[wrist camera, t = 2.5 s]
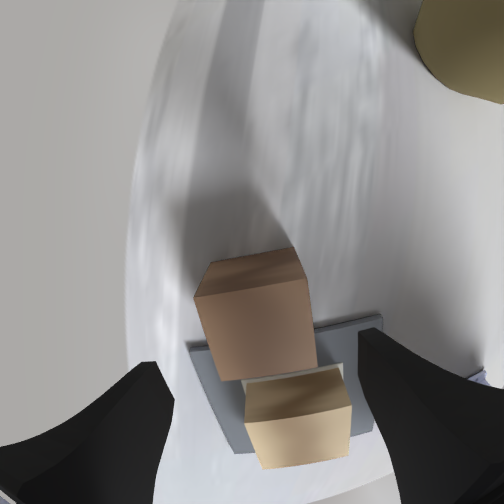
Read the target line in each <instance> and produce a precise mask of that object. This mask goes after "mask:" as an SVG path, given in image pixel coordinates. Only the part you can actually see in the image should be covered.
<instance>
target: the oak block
mask: <svg viewBox="0 0 504 504" xmlns="http://www.w3.org/2000/svg"><path fill="white" fill-rule="evenodd" d="M351 413H352V404H351V401H350V398H349V395H348V393H347V390H346V387H345V384H344V381H343V378H342V375H341V373H340V370H339V368H334V369H330V370H325V371H320V372H315V373H310V374H305V375H300V376H294V377H288V378H282V379H276V380H269V381H262V382H254V383H247V385H246V401H245V417H244V424H245V427H246V430H247V432H248V435H249V437H250V440H251V442H252V445H253V447H254V450H255V452H256V455H257V457H258V459H259V462H260V464H261V466H262V469H274V468H283V467H291V466H298V465H304V464H310V463H316V462H321V461H326V460H331V459H336V458H340V457H344V456H348V454H349V443H350V430H351Z"/></svg>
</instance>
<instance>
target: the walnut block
mask: <svg viewBox="0 0 504 504" xmlns="http://www.w3.org/2000/svg"><path fill="white" fill-rule="evenodd" d="M193 298H194V302H195V305H196V308H197V311H198V314H199V318H200V321H201V324H202V327H203V330H204V333H205V336H206V339H207V342H208V345H209V348H210V351H211V354H212V356H213V359H214V362H215V365H216V368H217V371H218V373H219V376H220V379H221V381H230V380H239V379H248V378H256V377H263V376H270V375H277V374H283V373H289V372H295V371H300V370H306V369H311V368H316V367H318V365H317V355H316V346H315V337H314V328H313V319H312V311H311V303H310V296H309V288H308V281H307V277H306V274H305V272H304V270H303V267H302V265H301V262H300V260H299V258H298V255H297V253H296V251H295V249H294V247H291V248H286V249H280V250H275V251H270V252H264V253H259V254H254V255H248V256H243V257H237V258H232V259H227V260H221V261H216V262H211V263H210V265H209V267H208V269H207V271H206V273H205V275H204V277H203V279H202V281H201V283H200V285H199V287H198V289H197V291H196V293H195V295H194V297H193Z"/></svg>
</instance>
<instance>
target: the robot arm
mask: <svg viewBox="0 0 504 504" xmlns="http://www.w3.org/2000/svg"><path fill="white" fill-rule="evenodd" d="M486 375H487V372H486V371H485V370H484V371H482V372H480V373H478V374H476V375H474V376H472V377H470V378H468V379H465V378H463V377H461V376H458V375H456V374H453V373H451V372H449V371H446V370H444V369H442V368H440V367H438V366H436V365H434V364H433V363H431V362H429V361H427V360H425V359H423V358H422V357H420V356H418V355H416V354H415V353H413V352H412V351H410V350H408V349H407V348H405V347H404V346H402V345H401V344H399V343H398V342H396V341H395V340H393V339H392V338H390V337H389V336H387V335H386V334H384V333H383V332H381V331H380V330H378V329H377V328H375V327H372V328H369V329H365V330H361V331H358V378H359V381H360V384H361V387H362V391H363V394H364V397H365V399H366V402H367V404H368V406H369V408H370V410H371V413H372V415H373V417H374V419H375V421H376V424H377V426H378V428H379V430H380V432H381V435H382V437H383V439H384V441H385V444H386V446H387V449H388V452H389V454H390V458H391V461H392V465H393V469H394V472H395V476H396V480H397V484H398V489H399V493H400V499H401V504H504V389H499V388H495V387H491V386H490V384H489V383H488V382H487V381H486V380H485V378H486ZM174 401H175V399H174V397H173V395H172V394H171V392H170V390H169V388H168V386H167V384H166V382H165V380H164V378H163V376H162V374H161V372H160V369H159V367H158V365H157V363H156V361H153V362H141V363H140V364H138V365H137V366H136V367H134V368H133V369H132V370H131V371H130V372H128V373H127V374H126V375H125V376H124V377H122V378H121V379H120V380H119V381H118V382H117V383H116V384H114V386H112V387H111V388H110V389H109V390H107V391H106V392H105V393H104V394H103V395H101V396H100V397H99V398H98V399H96V400H95V401H94V402H93V403H91V404H90V405H89V406H87V407H86V408H85V409H83V410H82V411H81V412H79V413H78V414H76V415H75V416H73V417H72V418H70V419H68V420H67V421H65V422H64V423H62V424H60V425H58V426H56V427H54V428H53V429H50V430H48V431H46V432H44V433H42V434H40V435H38V436H35V437H33V438H30V439H28V440H25V441H21V442H18V443H15V444H11V445H7V446H2V447H0V490H1V491H2V492H4V493H5V494H6V495H7V496H9V497H10V498H11V499H12V500H14V501H15V502H16V504H153V494H154V487H155V479H156V474H157V470H158V466H159V463H160V459H161V456H162V453H163V449H164V446H165V443H166V439H167V436H168V432H169V429H170V426H171V422H172V416H173V409H174ZM0 504H9V503H8V502H7V501H6V500H5V499H3V498H2V497H1V496H0Z"/></svg>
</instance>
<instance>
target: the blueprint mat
mask: <svg viewBox="0 0 504 504" xmlns="http://www.w3.org/2000/svg"><path fill="white" fill-rule="evenodd" d="M372 327H375V328H377V329H378V330H380V331H381V332H382V329H383V317H382V316H381V315H380V314H378V315H374V316H370V317H366V318H362V319H358V320H354V321H350V322H345V323H341V324H336V325H332V326H327V327H322V328H317V329H314V337H315V346H316V355H317V365H318V367H316V368H311V369H306V370H300V371H295V372H289V373H283V374H277V375H270V376H263V377H256V378H248V379H239V380H230V381H221V379H220V376H219V373H218V371H217V368H216V365H215V362H214V359H213V356H212V354H211V351H210V348H209V346H201V347H192V348H190V350H189V354H190V356H191V359H192V361H193V364H194V366H195V369H196V371H197V374H198V376H199V379H200V381H201V383H202V386H203V388H204V390H205V393H206V395H207V397H208V400H209V402H210V404H211V406H212V408H213V411H214V413H215V415H216V417H217V419H218V421H219V424H220V426H221V428H222V430H223V432H224V434H225V436H226V438H227V440H228V442H229V444H230V446H231V448H232V450H233V452H234V454H243V453H256V452H255V450H254V447H253V445H252V442H251V440H250V437H249V435H248V432H247V430H246V427H245V424H244V417H245V401H246V385H247V383H254V382H262V381H269V380H276V379H282V378H288V377H294V376H300V375H305V374H310V373H315V372H320V371H325V370H330V369H334V368H339V370H340V373H341V375H342V378H343V381H344V384H345V387H346V390H347V393H348V395H349V398H350V401H351V404H352V413H351V430H350V437H352V436H356V435H360V434H363V433H367V432H371V431H372V429H373V423H374V417H373V415H372V413H371V410H370V408H369V406H368V404H367V402H366V399H365V397H364V394H363V391H362V387H361V384H360V381H359V378H358V331H361V330H365V329H369V328H372Z"/></svg>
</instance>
